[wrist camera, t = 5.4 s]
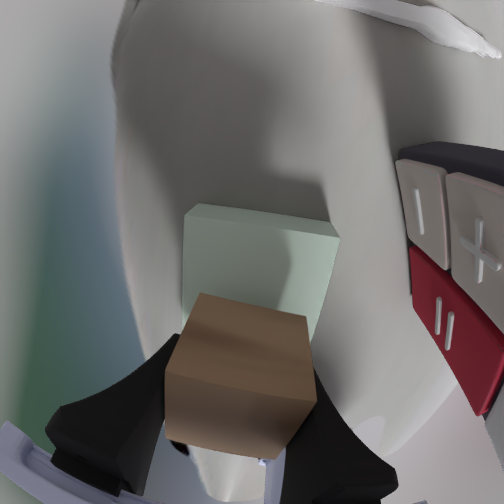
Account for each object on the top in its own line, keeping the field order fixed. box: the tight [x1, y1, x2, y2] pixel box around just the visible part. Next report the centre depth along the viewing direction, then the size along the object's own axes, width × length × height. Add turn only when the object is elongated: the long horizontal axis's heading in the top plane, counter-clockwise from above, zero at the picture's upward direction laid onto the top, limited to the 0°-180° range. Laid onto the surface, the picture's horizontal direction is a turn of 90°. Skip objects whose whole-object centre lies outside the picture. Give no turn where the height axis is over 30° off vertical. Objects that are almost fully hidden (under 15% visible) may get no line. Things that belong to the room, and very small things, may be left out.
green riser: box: [182, 203, 340, 344], centre depth 16 cm, size 9×8×3 cm
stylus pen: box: [314, 0, 502, 59], centre depth 10 cm, size 15×3×2 cm, turn 87°
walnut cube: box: [165, 292, 317, 460], centre depth 11 cm, size 5×5×5 cm
